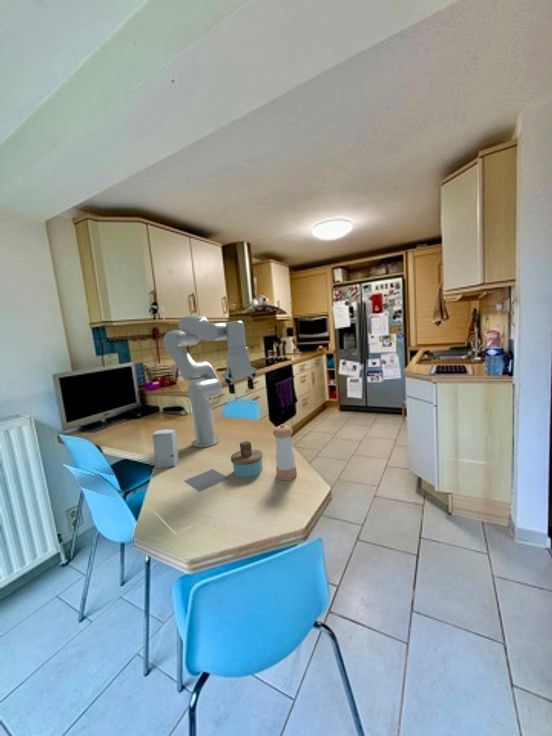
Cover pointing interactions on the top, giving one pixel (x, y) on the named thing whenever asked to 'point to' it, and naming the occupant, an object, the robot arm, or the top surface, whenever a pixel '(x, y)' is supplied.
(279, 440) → the salt shaker
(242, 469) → the bowl
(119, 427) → the top surface
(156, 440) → the skincare box
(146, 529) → the top surface
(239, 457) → the lid
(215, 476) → the mat
